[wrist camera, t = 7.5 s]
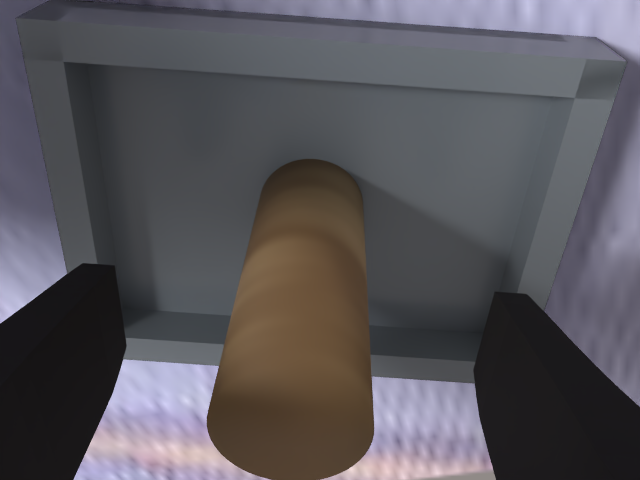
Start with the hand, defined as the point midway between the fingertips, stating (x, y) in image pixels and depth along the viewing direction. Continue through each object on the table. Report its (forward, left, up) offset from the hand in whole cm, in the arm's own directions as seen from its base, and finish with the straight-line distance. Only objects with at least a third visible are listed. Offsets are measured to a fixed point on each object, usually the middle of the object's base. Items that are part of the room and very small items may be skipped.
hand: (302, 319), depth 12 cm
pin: (0, 0, -4) cm, 4 cm away
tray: (0, 0, -5) cm, 5 cm away
